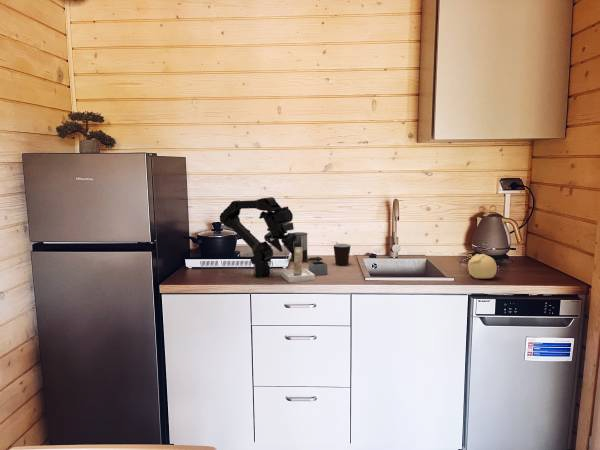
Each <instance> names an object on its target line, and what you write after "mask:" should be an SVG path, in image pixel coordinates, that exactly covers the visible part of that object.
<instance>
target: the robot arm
mask: <svg viewBox="0 0 600 450" xmlns="http://www.w3.org/2000/svg"><path fill="white" fill-rule="evenodd" d="M245 209H247V210H248V209H249V210H250V209H251V210H252V209H256V210H258V211H261V212H260V213H259V217H258V219H259V220H260V219H261V220H262V219H263V220H264V222H265V224H266V227H267V228H266V230H267V233H266V234H265V235H264V237H263V239H264V241H262V242H261V241H260V240H259V239H258V238H257V237H255V235H253V233H251V231H249V230H248V228H247V227H245V226H244V224H243V223H242V222H241V219H240V215H241V210H245ZM293 216H294V215H293V213H292V211H291V209H290V208H289V206H284V207H282V206H281V205H280V204H279V203H278V202H277V200H276V199H275V197H273V196H269V197H261V198H259V199H253V200H252V199H251V200H250V199H249V200H233V201H231V202H230V204H228V206H227V207H226V208H225V209H224V210H223V211H222V212H221V213H220V214H219V222H220V224H222V225H223V226H224V227H226V228H228V229H230V230H231V229H232V231H234V233H235V234H237V236H239V237H240V238H241V240H243V242H244V243H246V244H247V246H249V247H250V249H251V251H252V255H253V256H252V257H251V258H250V262H251V264H252V265H253V273H252V275H253V277H255V278H266V277H267V278H268V277H270V276H271V275H270V274H271V267H270V265H269V262H271V261H272V257H274V250H273V248H272V247H274V248H275V249H276V250H277V251H279V252H280V253H282V252H283V250H284V249H283V247H284V248H285V249H286V250H287V251H288V252H289V253H290V255H291V254H294V246H293V243H294V241H295V240H296V239H297V236H296V234H294V233H295V232H288V231H294V230H295V228H294V227H295V226H294V222H292V221H293ZM280 241H281V242H280ZM281 243H282V245H283V247H282V245H281Z"/></svg>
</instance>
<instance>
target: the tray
mask: <svg viewBox="0 0 600 450" xmlns="http://www.w3.org/2000/svg"><path fill="white" fill-rule="evenodd" d="M280 274H281V278H282V279H284V280H286V281H287V282H288V283H298V282H299V283H300V282H310V281H315V280H316V276H315V275H314V274H313V273H312V272H310V271H309V269H307V268H302V275H301V276H294V269H287V270H281V273H280Z"/></svg>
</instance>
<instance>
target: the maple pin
mask: <svg viewBox="0 0 600 450" xmlns="http://www.w3.org/2000/svg"><path fill="white" fill-rule="evenodd" d="M302 250H303V248H302V247H295V251H294V262H293V270H294V276H301V275H302V269H303V262H302Z"/></svg>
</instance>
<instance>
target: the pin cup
mask: <svg viewBox="0 0 600 450" xmlns="http://www.w3.org/2000/svg"><path fill="white" fill-rule="evenodd" d="M308 270H309V271H310V272H312V273H313V274H314V275H315V277H317V276H325V275H326V276H327V275H328V264H327V263H326V262H324V261H323V260H320V261H317V262H316V261H309V262H308Z"/></svg>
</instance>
